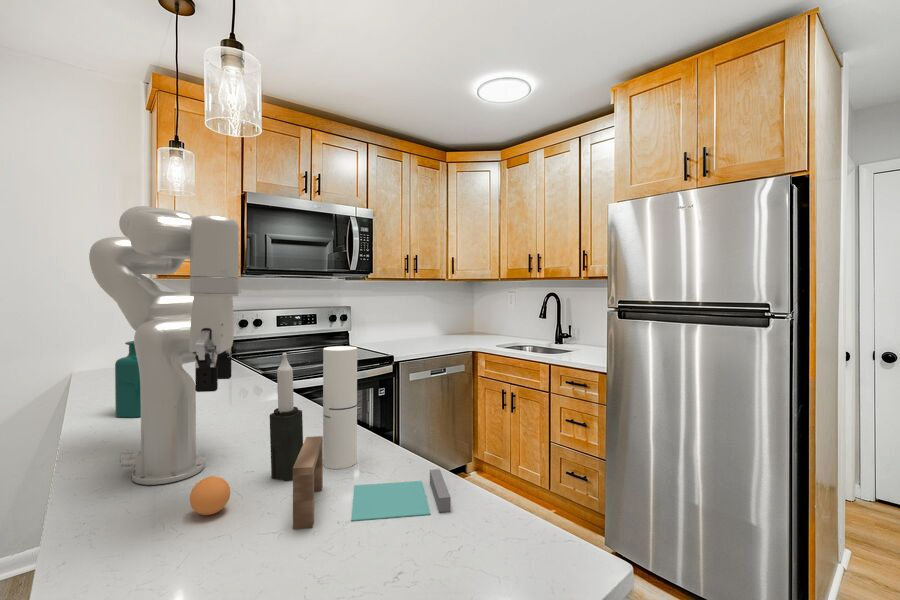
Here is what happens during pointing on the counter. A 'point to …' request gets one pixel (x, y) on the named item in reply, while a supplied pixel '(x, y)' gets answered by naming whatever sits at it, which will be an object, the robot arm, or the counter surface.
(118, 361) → the teal green bottle
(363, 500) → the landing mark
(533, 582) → the counter surface
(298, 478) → the bridge
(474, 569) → the counter surface
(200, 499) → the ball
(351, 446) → the cylindrical container
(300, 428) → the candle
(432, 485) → the wall
